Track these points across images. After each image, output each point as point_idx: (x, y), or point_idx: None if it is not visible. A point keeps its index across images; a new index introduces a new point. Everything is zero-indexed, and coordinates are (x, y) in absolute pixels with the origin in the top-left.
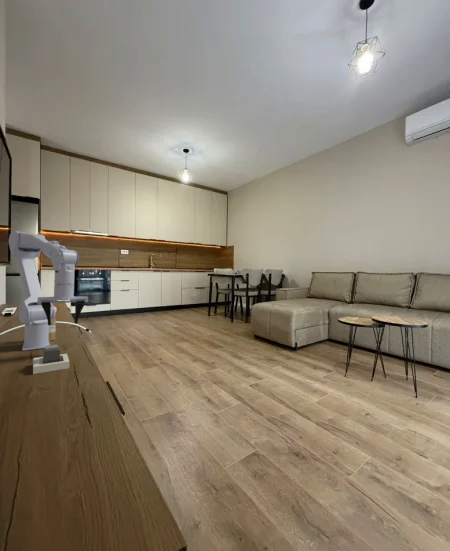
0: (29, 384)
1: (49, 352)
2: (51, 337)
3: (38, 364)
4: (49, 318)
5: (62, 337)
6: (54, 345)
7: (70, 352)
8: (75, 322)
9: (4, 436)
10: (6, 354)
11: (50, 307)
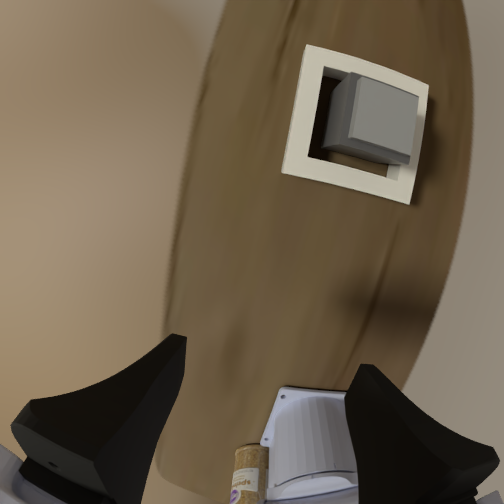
0: (425, 21)
1: (394, 87)
2: (250, 454)
3: None
4: (392, 393)
5: (210, 457)
6: (371, 127)
7: (233, 277)
8: (182, 337)
9: None
10: (403, 380)
11: (443, 459)
